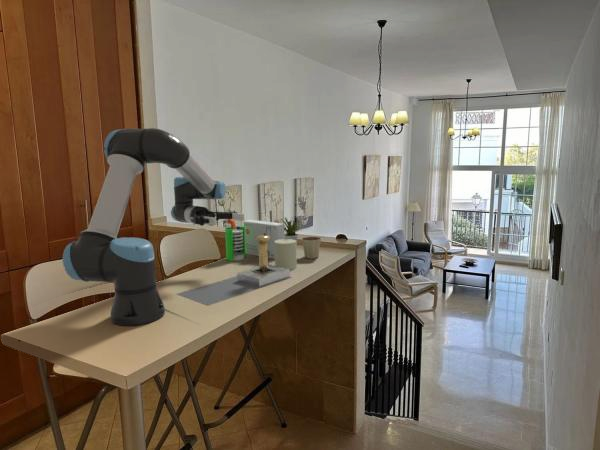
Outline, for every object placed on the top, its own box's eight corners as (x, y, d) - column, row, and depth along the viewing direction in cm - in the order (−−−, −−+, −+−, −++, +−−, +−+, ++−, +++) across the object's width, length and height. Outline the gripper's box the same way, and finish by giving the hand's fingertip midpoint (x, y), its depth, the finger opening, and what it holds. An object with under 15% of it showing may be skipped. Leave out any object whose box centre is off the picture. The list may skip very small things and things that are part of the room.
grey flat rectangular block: (259, 287, 155) (259, 278, 155) (237, 280, 163) (237, 272, 163) (290, 276, 167) (290, 268, 166) (268, 271, 175) (268, 263, 174)
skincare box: (244, 254, 208) (242, 221, 205) (251, 251, 212) (250, 219, 209) (278, 260, 195) (277, 224, 192) (285, 257, 199) (284, 223, 197)
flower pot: (298, 255, 202) (298, 237, 200) (317, 253, 205) (317, 235, 203) (304, 260, 193) (304, 241, 192) (325, 258, 196) (324, 239, 194)
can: (298, 265, 185) (297, 237, 183) (295, 271, 176) (295, 242, 174) (276, 265, 186) (275, 237, 184) (273, 271, 177) (272, 242, 175)
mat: (207, 307, 138) (207, 305, 138) (176, 295, 150) (176, 293, 150) (292, 278, 166) (292, 277, 166) (260, 270, 178) (259, 269, 178)
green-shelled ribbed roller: (238, 261, 194) (236, 221, 191) (222, 260, 196) (220, 220, 193) (247, 256, 202) (246, 218, 199) (232, 255, 205) (230, 217, 202)
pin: (263, 281, 162) (262, 238, 159) (254, 279, 165) (252, 236, 162) (273, 278, 165) (272, 236, 163) (264, 276, 169) (263, 234, 166)
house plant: (270, 249, 216) (269, 216, 214) (280, 243, 229) (279, 212, 227) (297, 250, 212) (296, 217, 209) (306, 244, 225) (305, 213, 222)
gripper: (222, 220, 191) (254, 225, 177) (171, 228, 173) (202, 233, 159) (221, 203, 190) (254, 206, 176) (170, 209, 172) (201, 213, 158)
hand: (229, 219), depth 167 cm, fingers open, 13 cm apart
